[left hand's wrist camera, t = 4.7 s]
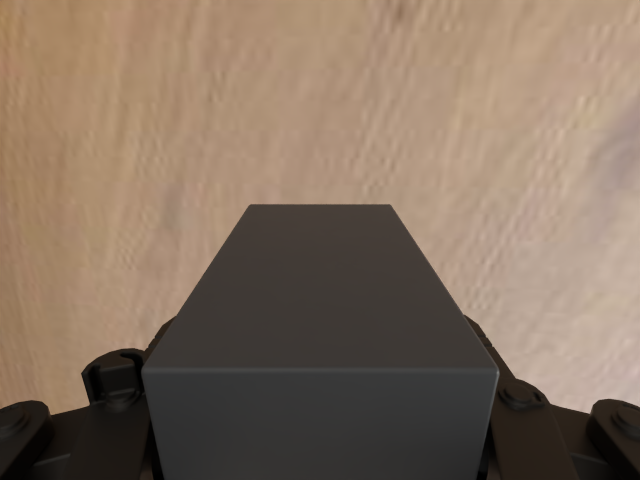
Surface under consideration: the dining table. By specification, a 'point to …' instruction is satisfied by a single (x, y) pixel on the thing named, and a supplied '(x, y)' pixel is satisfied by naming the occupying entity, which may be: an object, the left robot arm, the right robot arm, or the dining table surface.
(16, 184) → the dining table surface
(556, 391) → the dining table surface
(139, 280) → the dining table surface
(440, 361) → the bar
